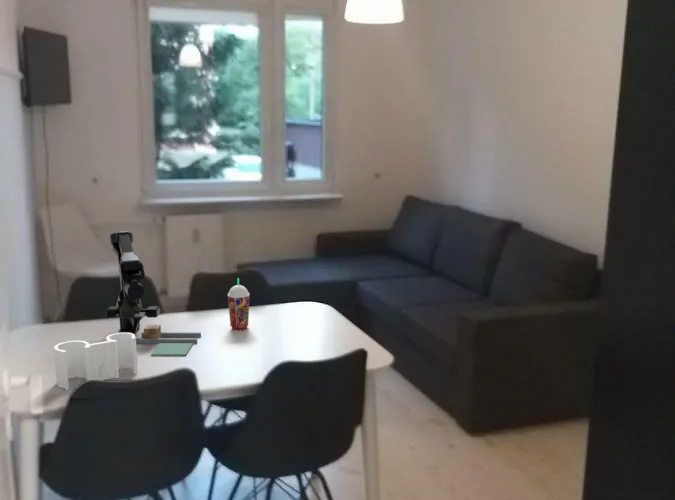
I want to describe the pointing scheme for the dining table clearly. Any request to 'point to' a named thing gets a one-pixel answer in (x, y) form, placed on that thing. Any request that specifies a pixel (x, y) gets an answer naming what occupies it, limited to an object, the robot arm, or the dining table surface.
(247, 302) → the smoothie
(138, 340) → the channel
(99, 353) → the bracket
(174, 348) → the mat
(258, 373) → the dining table surface
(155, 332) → the tan block
